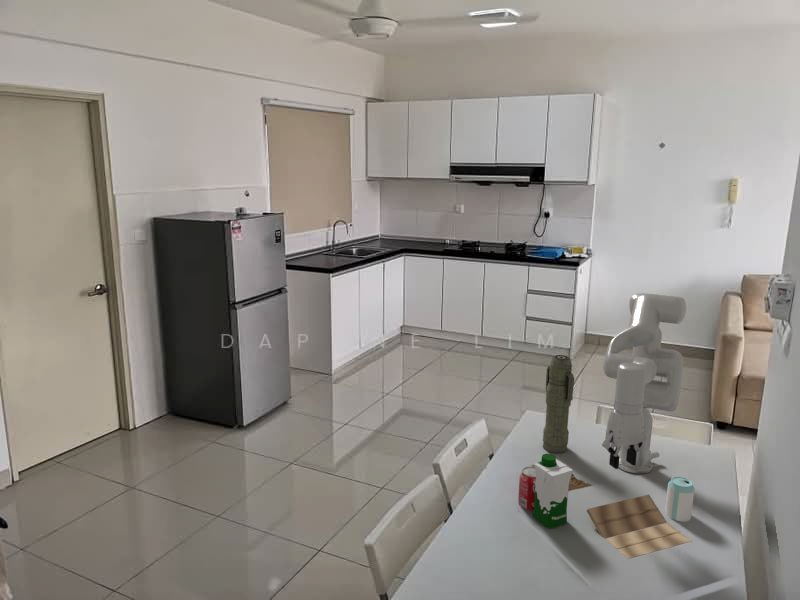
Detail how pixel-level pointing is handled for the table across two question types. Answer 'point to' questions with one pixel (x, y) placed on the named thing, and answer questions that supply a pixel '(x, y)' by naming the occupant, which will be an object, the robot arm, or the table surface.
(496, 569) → the table surface
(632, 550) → the oak board
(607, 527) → the plank
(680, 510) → the can
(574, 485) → the wooden fragment
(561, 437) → the thermos
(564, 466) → the milk carton
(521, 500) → the soda can
